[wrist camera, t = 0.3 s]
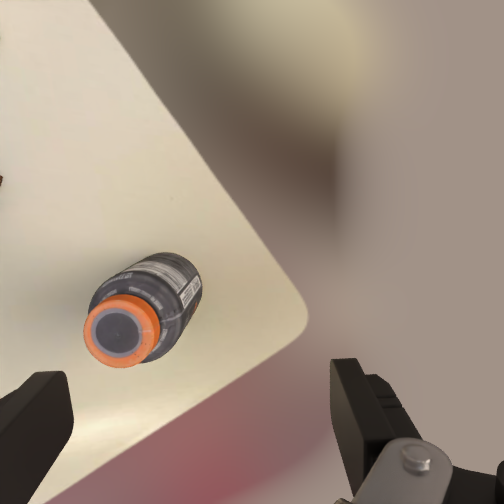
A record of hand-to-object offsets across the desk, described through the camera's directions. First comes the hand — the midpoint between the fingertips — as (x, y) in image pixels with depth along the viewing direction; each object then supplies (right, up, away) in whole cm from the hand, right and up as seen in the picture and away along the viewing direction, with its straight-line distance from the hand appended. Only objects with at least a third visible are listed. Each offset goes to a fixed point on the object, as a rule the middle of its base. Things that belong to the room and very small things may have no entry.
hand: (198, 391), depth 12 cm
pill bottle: (-5, +1, +21) cm, 22 cm away
